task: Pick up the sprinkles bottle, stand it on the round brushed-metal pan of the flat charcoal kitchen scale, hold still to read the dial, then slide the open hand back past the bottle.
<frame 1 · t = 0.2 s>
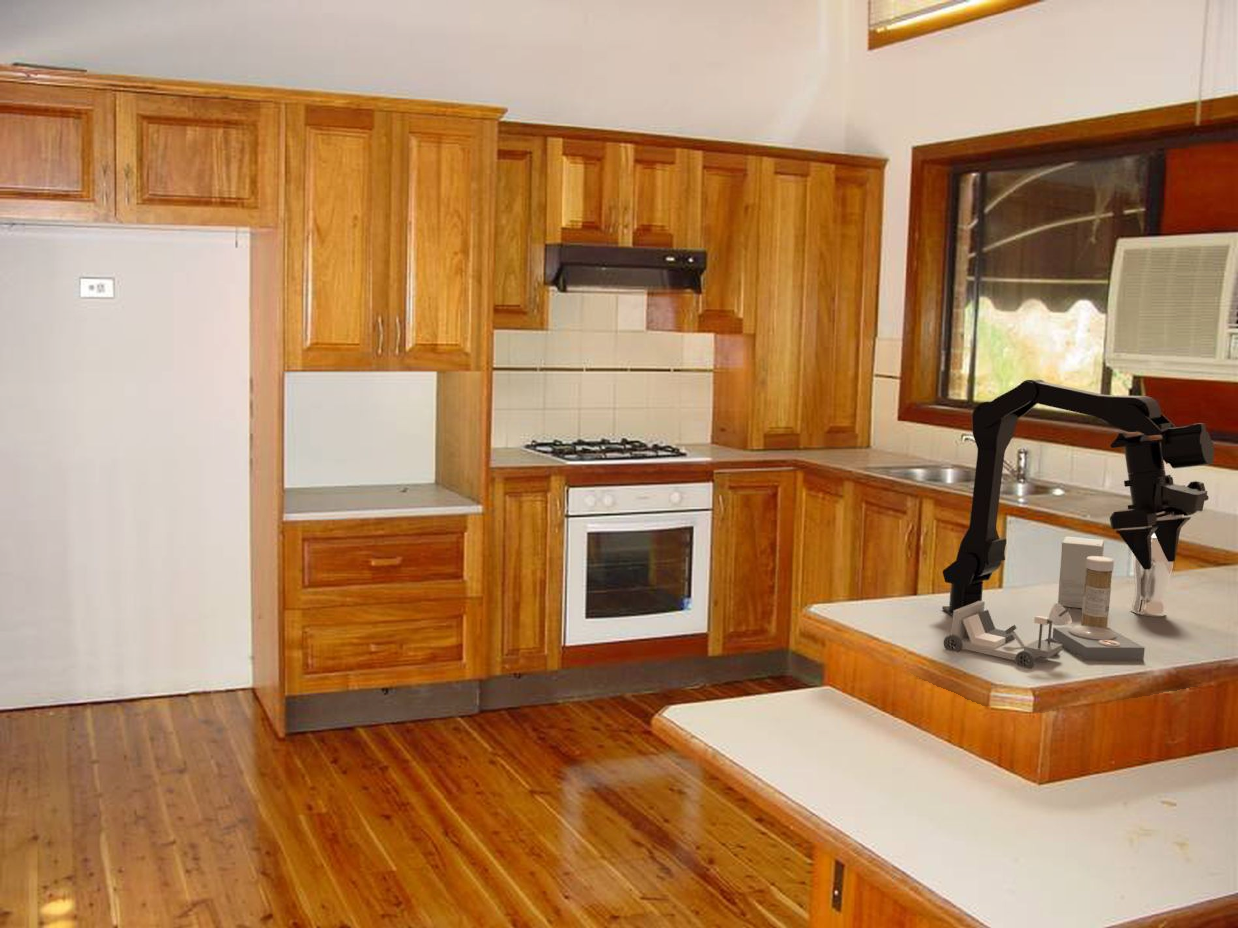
hand: (1159, 565, 207), 15 cm above the table, tool pointing down, fingers open, 9 cm apart
toy go kart: (1008, 657, 207), on the table
kitchen scale: (1096, 649, 211), on the table
beer glass: (1148, 613, 238), on the table
supplement box: (1078, 605, 243), on the table
sprinkles bottle: (1093, 633, 222), on the table
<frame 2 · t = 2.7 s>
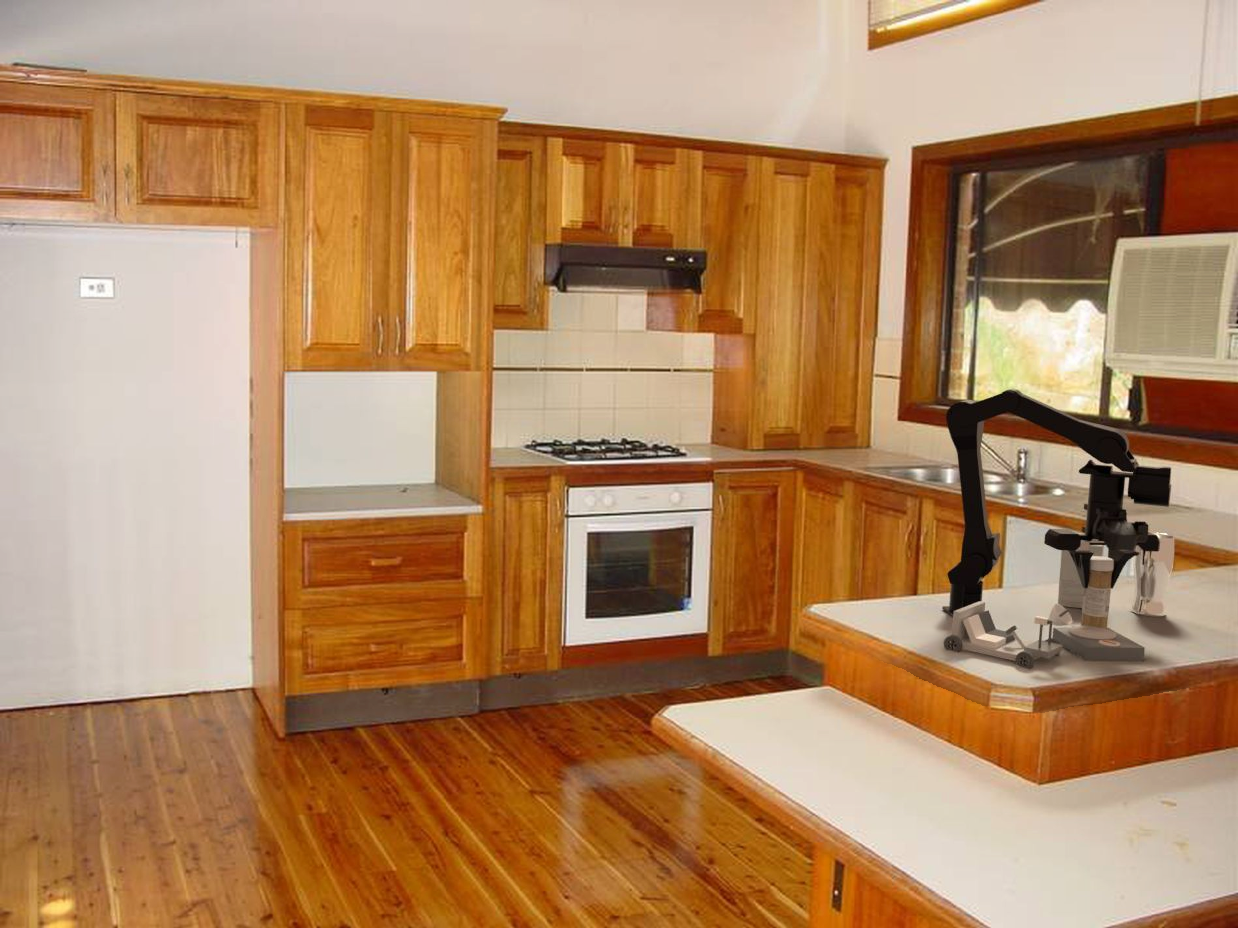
hand: (1097, 588, 221), 8 cm above the table, tool pointing down, fingers closed on sprinkles bottle, 4 cm apart
sprinkles bottle: (1093, 633, 222), on the table, touching gripper
everything else where it was.
when the fingers open (12 cm above the table, at t = 5.5 s): sprinkles bottle drops 1 cm, resting on kitchen scale.
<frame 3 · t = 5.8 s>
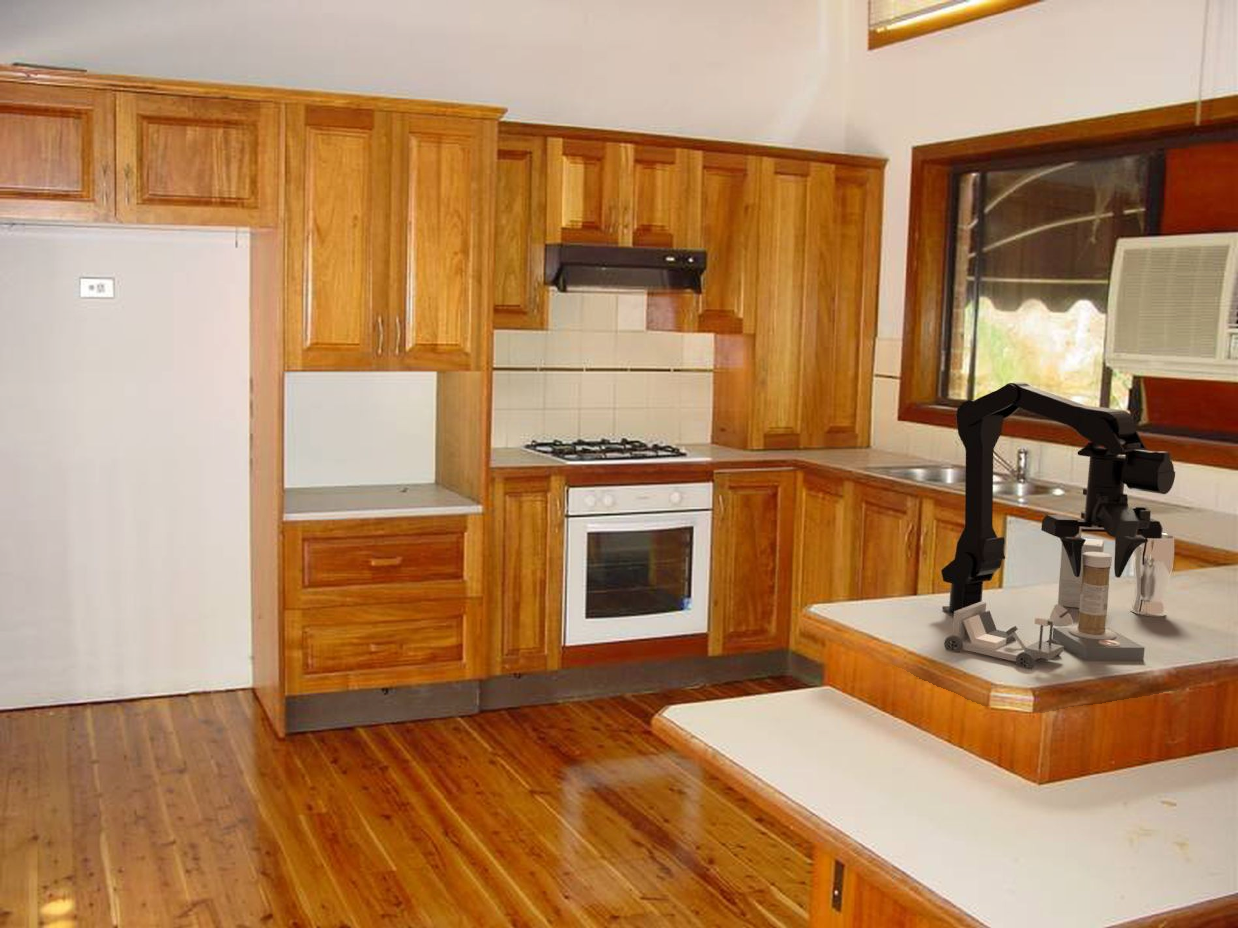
hand: (1097, 576, 211), 12 cm above the table, tool pointing down, fingers open, 7 cm apart
sprinkles bottle: (1091, 632, 212), point 2 cm above the table, touching kitchen scale
everything else where it was.
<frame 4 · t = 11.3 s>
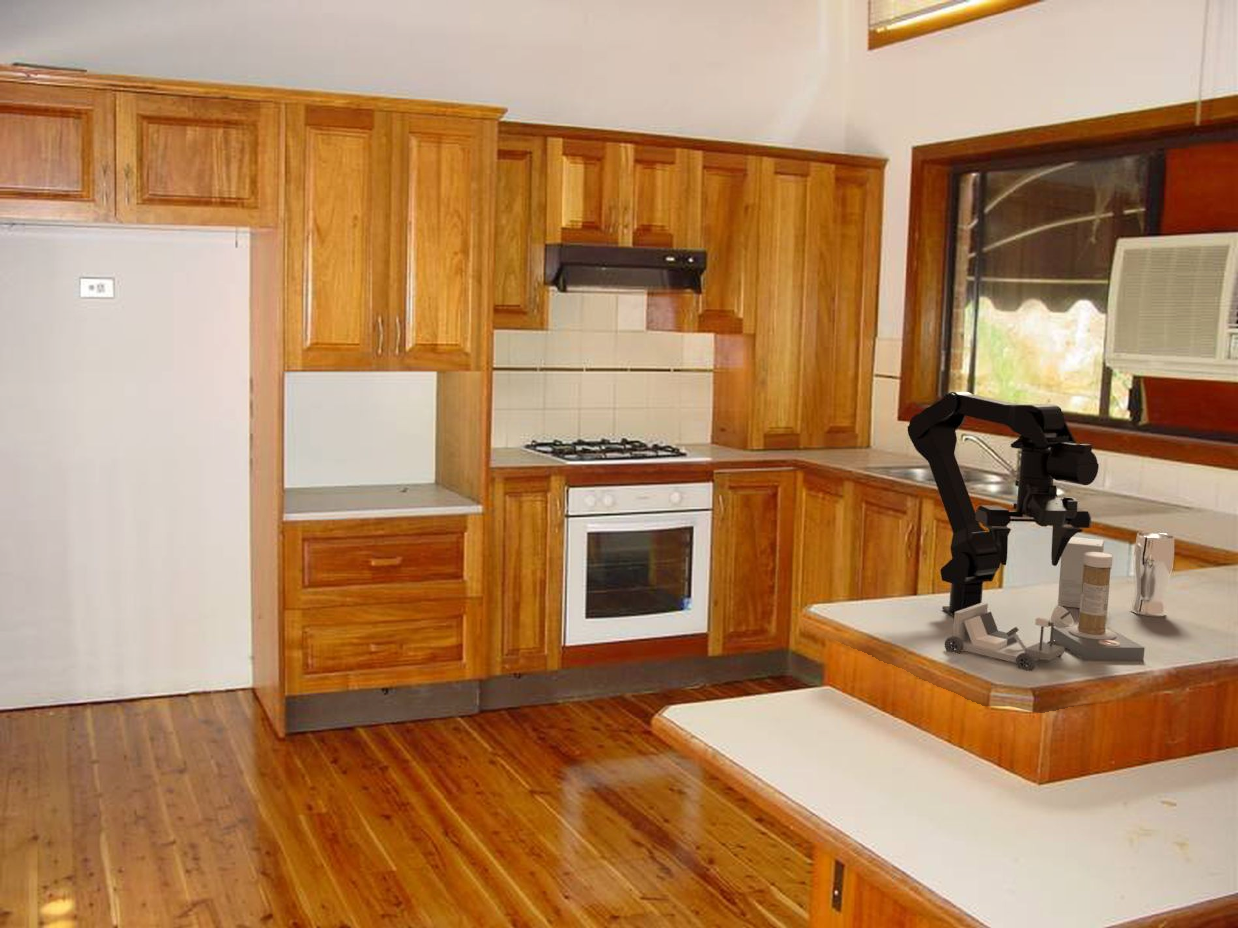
hand: (1029, 565, 219), 12 cm above the table, tool pointing down, fingers open, 9 cm apart
at the end: sprinkles bottle 0.1 cm from the target spot on the kitchen scale, point 2.4 cm above the kitchen scale's base; sprinkles bottle tilted 0°; the gripper is holding nothing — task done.
